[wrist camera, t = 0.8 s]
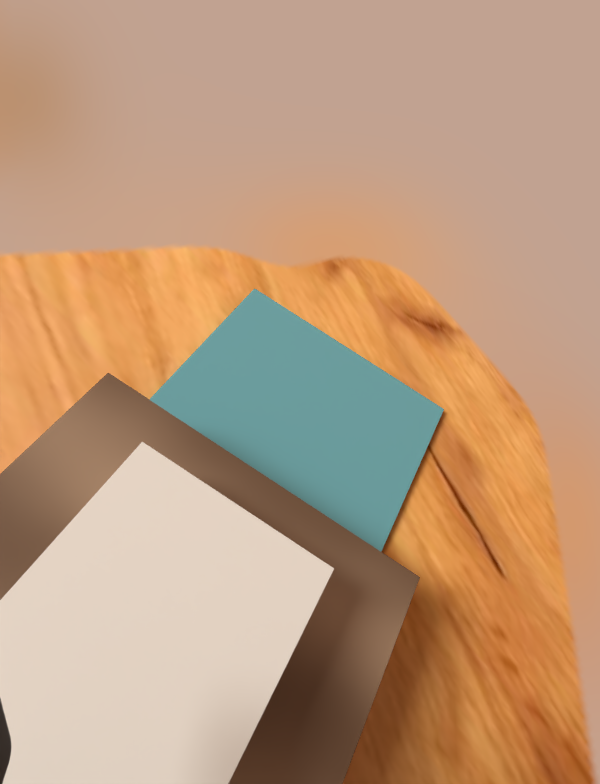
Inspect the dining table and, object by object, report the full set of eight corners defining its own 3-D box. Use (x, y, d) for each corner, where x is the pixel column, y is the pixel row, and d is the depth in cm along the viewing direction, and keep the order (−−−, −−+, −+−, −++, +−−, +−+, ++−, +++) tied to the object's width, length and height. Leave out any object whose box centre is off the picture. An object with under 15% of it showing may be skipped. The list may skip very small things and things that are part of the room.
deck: (182, 1048, 13) (212, 1131, 10) (-216, 761, 14) (-301, 756, 11) (369, 607, 21) (419, 577, 18) (104, 431, 21) (108, 372, 18)
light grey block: (97, 997, 11) (99, 1044, 9) (-154, 817, 11) (-202, 825, 9) (305, 592, 16) (334, 568, 14) (135, 479, 17) (141, 441, 15)
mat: (363, 588, 21) (366, 586, 21) (123, 430, 22) (124, 426, 21) (440, 412, 27) (444, 409, 27) (253, 292, 28) (254, 288, 28)
